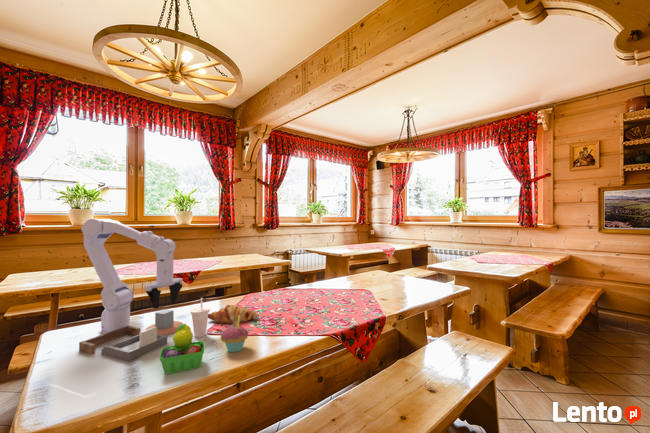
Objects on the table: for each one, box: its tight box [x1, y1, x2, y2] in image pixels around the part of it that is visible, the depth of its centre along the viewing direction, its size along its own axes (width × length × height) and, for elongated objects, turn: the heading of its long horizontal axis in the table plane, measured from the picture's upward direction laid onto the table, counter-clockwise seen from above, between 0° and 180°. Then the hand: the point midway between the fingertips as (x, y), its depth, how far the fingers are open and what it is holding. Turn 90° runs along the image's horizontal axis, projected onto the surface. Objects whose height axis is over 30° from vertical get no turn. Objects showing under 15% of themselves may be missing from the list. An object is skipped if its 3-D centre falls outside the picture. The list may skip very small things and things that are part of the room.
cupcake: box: [220, 314, 249, 353], centre depth 93 cm, size 9×8×12 cm
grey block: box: [154, 308, 175, 330], centre depth 109 cm, size 4×4×6 cm
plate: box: [144, 320, 184, 336], centre depth 109 cm, size 13×13×1 cm
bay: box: [78, 325, 141, 355], centre depth 97 cm, size 6×16×3 cm, turn 158°
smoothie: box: [190, 297, 210, 338], centre depth 103 cm, size 6×6×14 cm
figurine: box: [230, 318, 238, 327], centre depth 105 cm, size 5×4×6 cm
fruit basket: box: [158, 323, 205, 375], centre depth 82 cm, size 11×9×11 cm
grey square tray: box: [101, 327, 168, 362], centre depth 93 cm, size 13×13×7 cm
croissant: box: [208, 304, 260, 324], centre depth 120 cm, size 21×10×8 cm, turn 98°
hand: (164, 305), depth 110 cm, fingers open, 7 cm apart
